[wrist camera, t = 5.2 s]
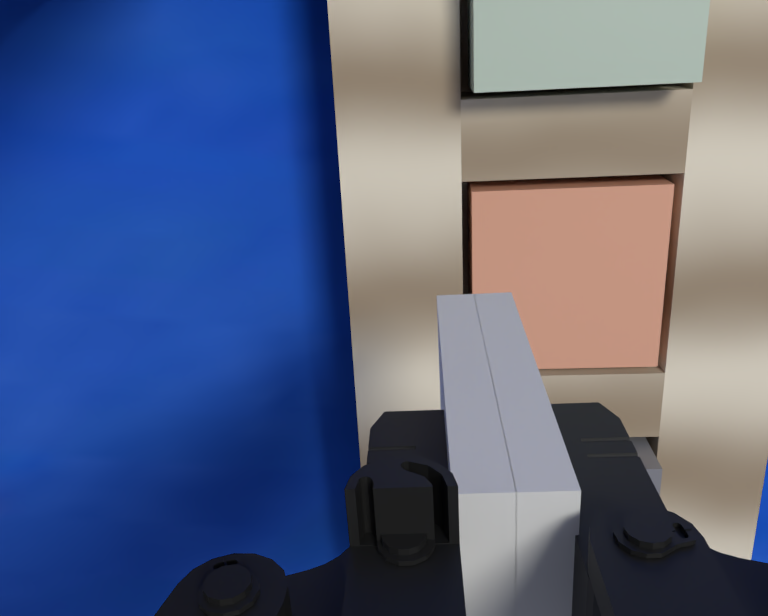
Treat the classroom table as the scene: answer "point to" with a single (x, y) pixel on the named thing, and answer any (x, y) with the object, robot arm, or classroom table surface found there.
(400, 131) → the button panel
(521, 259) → the terracotta button
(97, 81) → the classroom table surface
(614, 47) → the sage button
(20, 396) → the classroom table surface
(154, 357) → the classroom table surface
